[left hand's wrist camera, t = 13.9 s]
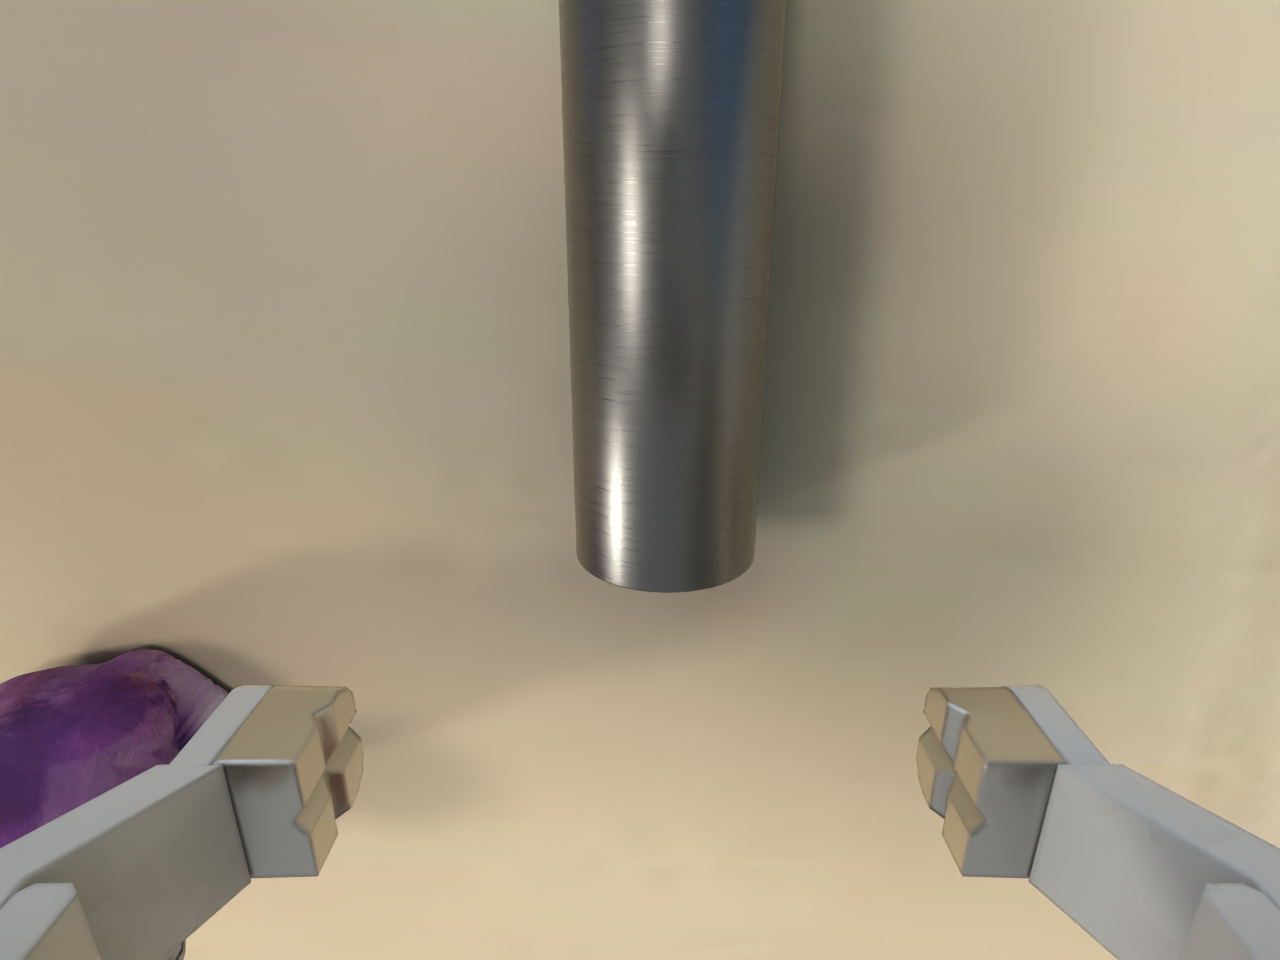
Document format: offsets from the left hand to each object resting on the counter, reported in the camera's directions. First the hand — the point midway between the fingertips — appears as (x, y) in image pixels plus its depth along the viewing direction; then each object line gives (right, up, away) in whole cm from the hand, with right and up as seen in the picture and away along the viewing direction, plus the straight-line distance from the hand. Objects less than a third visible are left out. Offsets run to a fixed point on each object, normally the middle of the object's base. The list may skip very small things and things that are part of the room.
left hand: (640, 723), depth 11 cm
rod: (+1, +15, +13) cm, 20 cm away
